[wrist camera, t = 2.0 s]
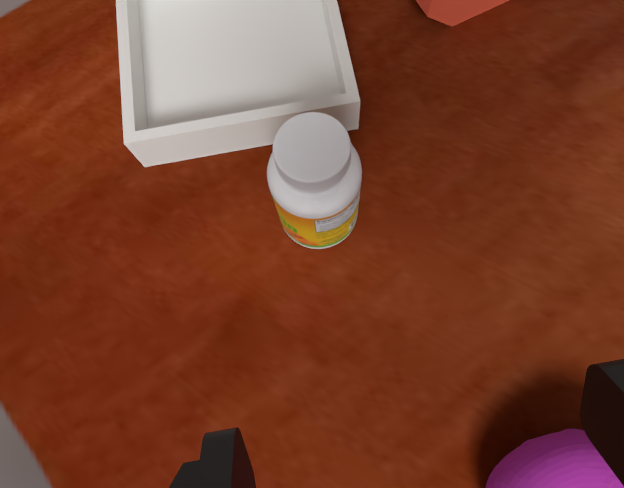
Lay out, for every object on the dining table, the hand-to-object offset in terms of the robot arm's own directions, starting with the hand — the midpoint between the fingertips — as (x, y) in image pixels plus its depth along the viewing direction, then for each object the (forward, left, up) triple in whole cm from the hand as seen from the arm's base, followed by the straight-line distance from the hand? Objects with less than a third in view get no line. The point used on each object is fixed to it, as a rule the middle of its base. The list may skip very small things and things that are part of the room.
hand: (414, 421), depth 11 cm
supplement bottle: (+1, -13, -19) cm, 23 cm away
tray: (+5, -27, -19) cm, 33 cm away
